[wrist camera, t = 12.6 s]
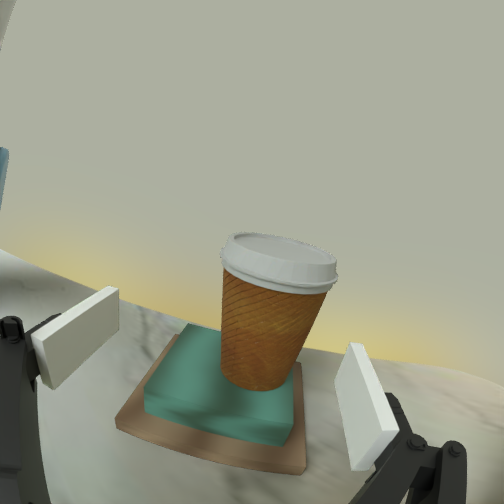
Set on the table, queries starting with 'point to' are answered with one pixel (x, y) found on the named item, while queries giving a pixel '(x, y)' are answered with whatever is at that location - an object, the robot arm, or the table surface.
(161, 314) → the table surface
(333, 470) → the table surface
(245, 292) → the disposable coffee cup
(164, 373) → the display stand
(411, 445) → the robot arm
